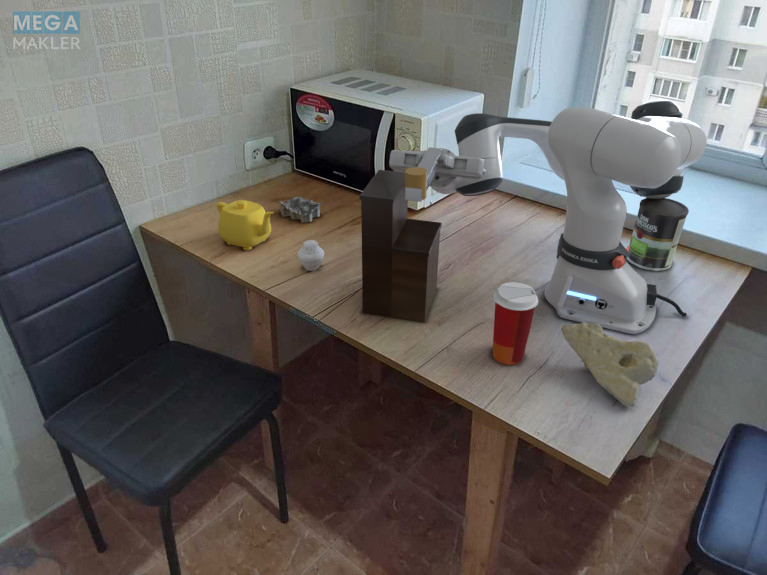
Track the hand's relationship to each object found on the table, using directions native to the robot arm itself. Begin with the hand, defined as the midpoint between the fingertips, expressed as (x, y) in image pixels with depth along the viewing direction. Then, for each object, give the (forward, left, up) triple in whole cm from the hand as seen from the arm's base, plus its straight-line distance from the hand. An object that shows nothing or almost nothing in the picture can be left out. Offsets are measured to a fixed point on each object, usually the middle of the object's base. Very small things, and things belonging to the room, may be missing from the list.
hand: (432, 157), depth 125 cm
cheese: (-44, +14, -28) cm, 54 cm away
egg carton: (+44, -7, -28) cm, 52 cm away
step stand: (-1, +13, -27) cm, 30 cm away
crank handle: (-3, +7, -2) cm, 7 cm away
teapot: (+44, +12, -28) cm, 53 cm away
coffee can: (-40, -36, -28) cm, 60 cm away
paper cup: (-28, +17, -28) cm, 43 cm away
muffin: (+23, +13, -28) cm, 38 cm away
